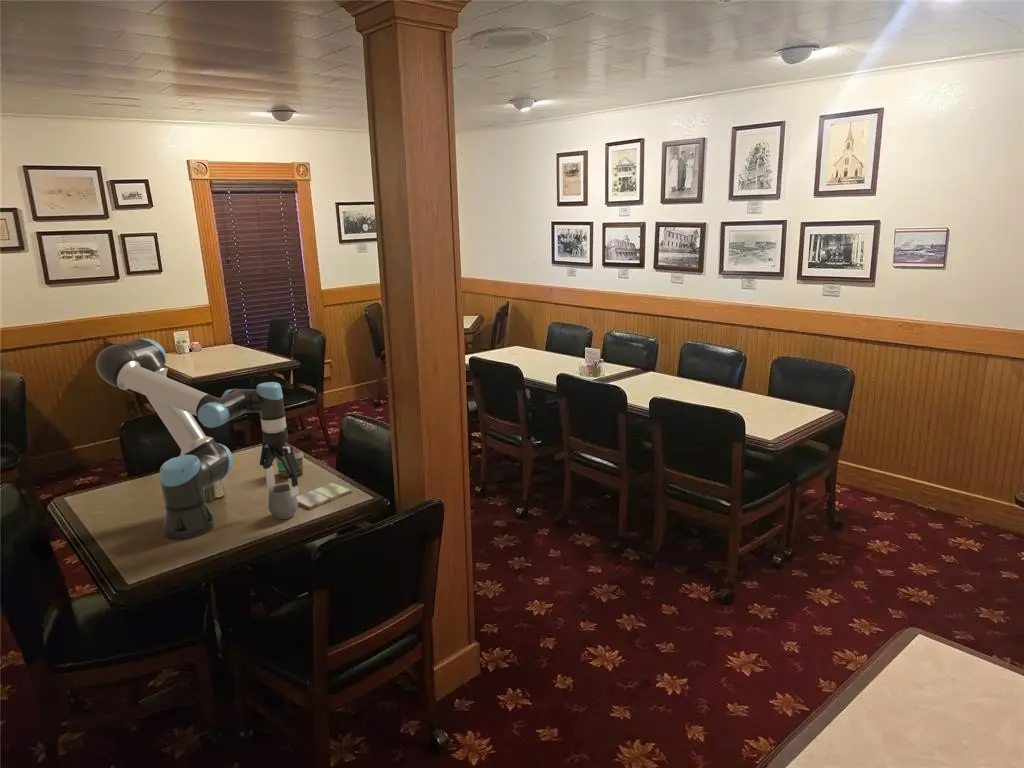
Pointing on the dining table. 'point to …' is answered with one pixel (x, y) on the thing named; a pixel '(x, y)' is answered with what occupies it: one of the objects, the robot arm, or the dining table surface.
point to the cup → (282, 502)
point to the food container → (282, 469)
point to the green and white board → (321, 495)
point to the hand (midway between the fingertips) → (282, 490)
